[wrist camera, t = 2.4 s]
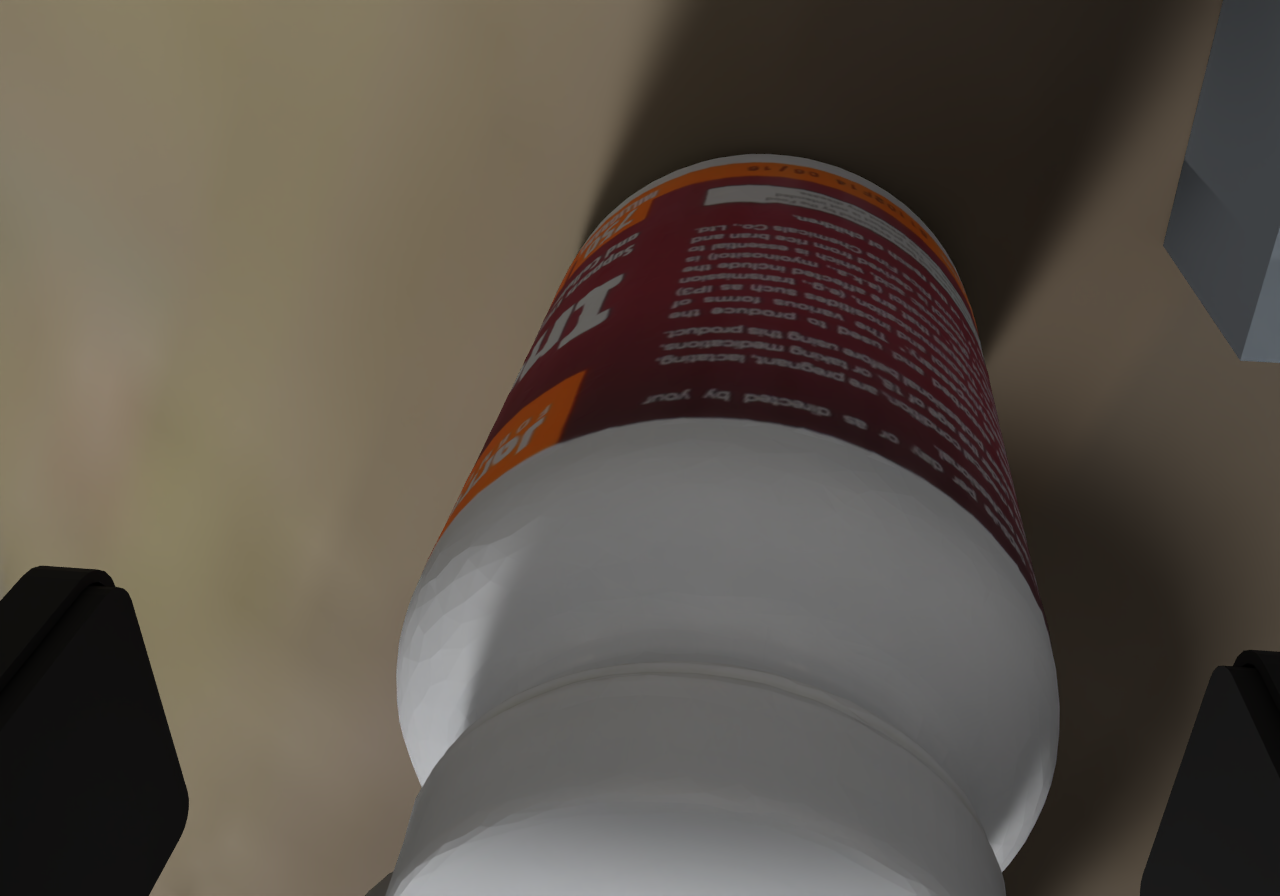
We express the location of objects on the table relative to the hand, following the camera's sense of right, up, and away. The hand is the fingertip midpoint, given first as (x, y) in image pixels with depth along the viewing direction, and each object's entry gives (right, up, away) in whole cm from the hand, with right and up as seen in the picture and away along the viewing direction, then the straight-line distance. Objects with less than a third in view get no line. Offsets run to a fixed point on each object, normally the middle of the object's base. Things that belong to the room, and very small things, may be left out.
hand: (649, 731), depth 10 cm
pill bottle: (+2, +4, +7) cm, 9 cm away
